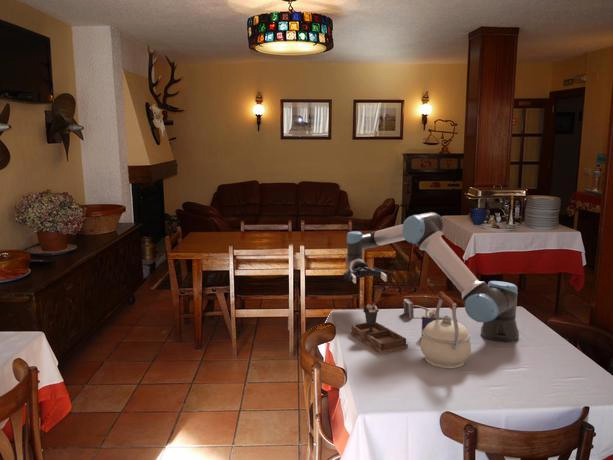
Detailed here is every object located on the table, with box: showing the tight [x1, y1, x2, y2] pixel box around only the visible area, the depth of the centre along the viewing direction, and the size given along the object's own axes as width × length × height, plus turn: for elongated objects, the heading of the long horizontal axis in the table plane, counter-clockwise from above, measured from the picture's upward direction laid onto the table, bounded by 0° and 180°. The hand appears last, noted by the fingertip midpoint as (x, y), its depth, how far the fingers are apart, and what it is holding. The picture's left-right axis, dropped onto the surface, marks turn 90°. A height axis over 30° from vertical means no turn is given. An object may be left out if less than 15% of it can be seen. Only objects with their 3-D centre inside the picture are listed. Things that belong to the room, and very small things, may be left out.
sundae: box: [362, 297, 380, 334], centre depth 219 cm, size 7×7×15 cm
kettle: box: [419, 291, 472, 369], centre depth 196 cm, size 25×18×25 cm
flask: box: [421, 312, 443, 337], centre depth 219 cm, size 9×3×11 cm, turn 87°
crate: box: [349, 321, 409, 355], centre depth 216 cm, size 23×13×4 cm, turn 27°
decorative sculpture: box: [403, 298, 436, 319], centre depth 244 cm, size 16×10×7 cm, turn 76°
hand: (370, 279), depth 227 cm, fingers open, 13 cm apart
